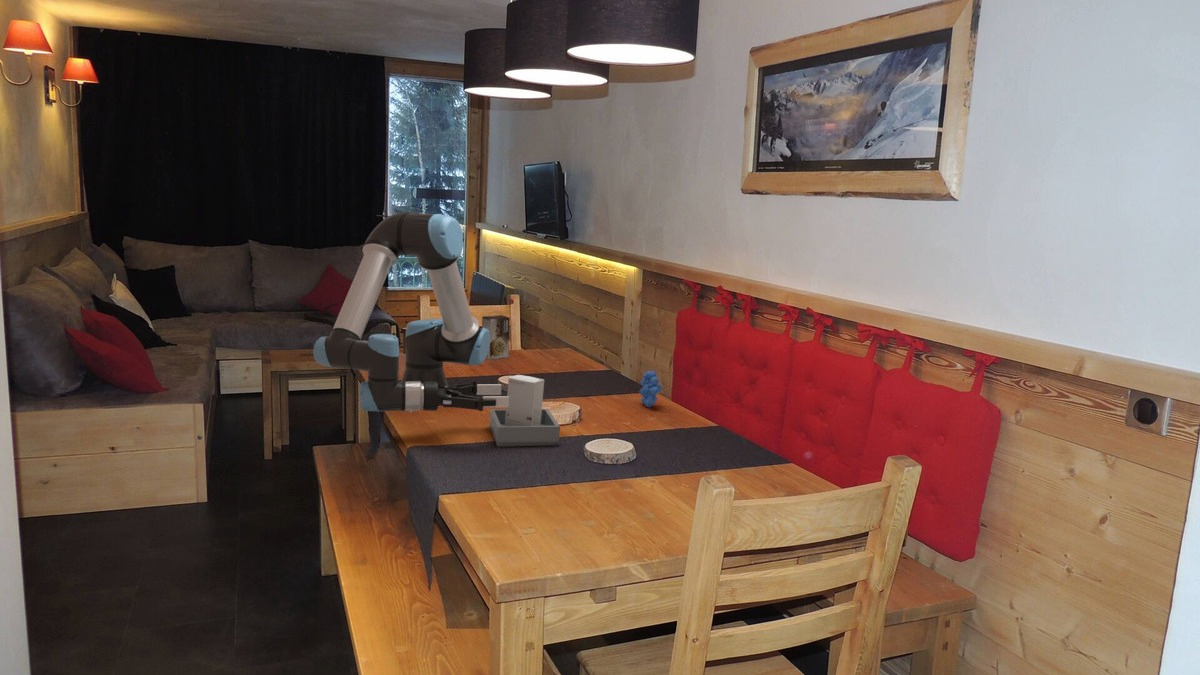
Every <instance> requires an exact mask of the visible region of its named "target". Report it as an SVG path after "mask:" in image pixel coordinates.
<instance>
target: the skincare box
mask: <svg viewBox="0 0 1200 675" xmlns="http://www.w3.org/2000/svg"><path fill="white" fill-rule="evenodd" d="M507 380H508V382H507V394H506V396H508V397H509V406H508V407H505V409H506V415H505V426H540V425H541V413H542V409H543V400H544V387H545V379H543V378H538V377H534V376H529V375H522V374H516V375H513V376H509V377H508V379H507Z"/></svg>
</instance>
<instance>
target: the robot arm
mask: <svg viewBox="0 0 1200 675" xmlns="http://www.w3.org/2000/svg"><path fill="white" fill-rule="evenodd" d="M463 239H464V233H463V230H462V227H461V224H460V222H459V221H458V220H457V219H456V218H455V217H453V216H450V215H444V214H441V213H437V214H436V213H434V214H432V213H431V214H429V213H417V212H415V213H412V212H411V213H410V212H406V211H405V212H404V211H403V212H398V213H394V214H391V215H390V216H388V217H386V218H385V219H383V220H382V221H380V223H378V224H377V225H376V227H374V228H373V230H372V231H371V232H370V233H369V236H368V237H367V238H366V240H365V242H364V244H363V247H362V253H363V257H362V260H361V261H360V264H359V266H358V268H357V271H356V273H355V275H354V279H353V280H352V283H351V285H350V288H349V289H348V292H347V295H346V296H345V299H344V302H343V304H342V306H341V309H340V311H339V312H338V315H337V318H336V321H335V322H334V325H333V328H332V330H331V331H330V334H329V336H327V335H326V336H321V337H319V338H318V339H317V340H316V341H315V343H314V346H313V357H314V358H313V359H314V360H315V362H316V363H317V364H318V365H319V366H323V367H329V368H332V369H334V368H337V369H348V370H349V369H350V370H355V371H364V372H366V371H367V380H366V381H362V382H361V383H360V385H359V408H360V409H361V410H362V411H365V412H378V413H380V412H407V411H408V413H409V414H412V413H413V411H414V412H415V411H416V412H418V411H421V410H423V411H424V412H425V411H426V412H428V411H429V412H432V411H433V412H435V411H438V409H439V405H440V404H442V407H443V408H456V409H457V408H459V409H466V410H475V411H479V412H483V411H484V408H485V409H486V408H488V409H489V408H490V409H492V408H493V409H496V408H506V407H508V406H509V397H508V396H507V395H506V396H503V395H502V384H500V383H499V384H496V383H495V384H493V383H492V384H488V383H486V384H479V383H478V382H477V381H472V382H465V383H457V384H455V383H454V384H448V381H447V377H446V375H445V371H444V363H450V364H456V365H457V364H458V365H467V366H480V365H481V364H483V363H484V361H485V360H486V359H487V358H486V356H487V353H488V350H489V345H490V332H489V330H488V329H485V328H482V327H481V326H480V322H479V321H478V319H477V318H476V317H475V316H473V315H472V312H471V309H470V304H469V302H468V298H467V295H466V291H465V287H464V284H463V280H462V278H461V274H460V270H459V267H458V264H457V261H459V260H458V259H459V258H460V255H461V254H462V251H463V248H464V241H463ZM404 255H405V256H415V257H416V258H417V262H418V265H419V266H420V267H421V268H422V269H424V270H426V271H427V274H428V278H429V281H430V284H431V288H432V291H433V294H434V297H435V300H436V302H437V306H438V309H439V312H440V316H441V318H427V319H418V320H413V321H410V322H408V323H407V325H406V329H405V336H404V338H405V369H404V371H403V374H402V377H401V380H400V381H399V379H400V378H399V374H400V372H399V370H400V353H401V352H400V344H399V342H400V341H399V338H398V337H397V336H396V335H394V334H389V333H376V334H375V333H374V334H371V335H369V337H368V338H367V340H361V339H362V337H363V334H364V332H365V330H366V327H367V325H368V322H369V320H370V318H371V315H372V313H373V310H374V308H375V305H376V303H377V300H378V298H379V295H380V293H381V291H382V288H383V286H384V284H385V282H386V278H387V275H388V273H389V271H390V268H391V266H394V265H396V263H397V261H398V259H399V257H401V256H404ZM477 383H478V384H477ZM472 395H473V396H472ZM474 395H477V396H474ZM486 395H487V396H486ZM498 395H499V396H498ZM479 396H482V397H479Z"/></svg>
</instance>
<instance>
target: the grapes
mask: <svg viewBox="0 0 1200 675" xmlns="http://www.w3.org/2000/svg"><path fill="white" fill-rule="evenodd" d="M657 376H658V375H657V373H656V371H654V370H648V371H646V372H644V373H643V378H642V379H641V380H640V382H639V383H640V385H641V386H642V387H641V388H640V390H639V394H640V395H641V396H642V397H641V399H640V401H641V402H642V404H643V405H645V407H647V408H651V407H653V405H654V404H655V403H657V401H658V397H657V395H658V394H659V393H660V392H662V390H663V387H662V385H661V384H659V383H660V380H659V378H658V377H657Z"/></svg>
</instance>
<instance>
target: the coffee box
mask: <svg viewBox="0 0 1200 675" xmlns="http://www.w3.org/2000/svg"><path fill="white" fill-rule="evenodd" d="M510 319H511V318H510V317H508V316H506V315H502V314H500V315H496V314H495V315H486V316H482V321H481V323H482V324H481V328H485V329H488V330H489V332H490V345H489V350H488V353H487V356H486V358H485V359H487V360H497V359H504V358H505V359H507V358H509V357H510V321H511V320H510Z"/></svg>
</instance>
